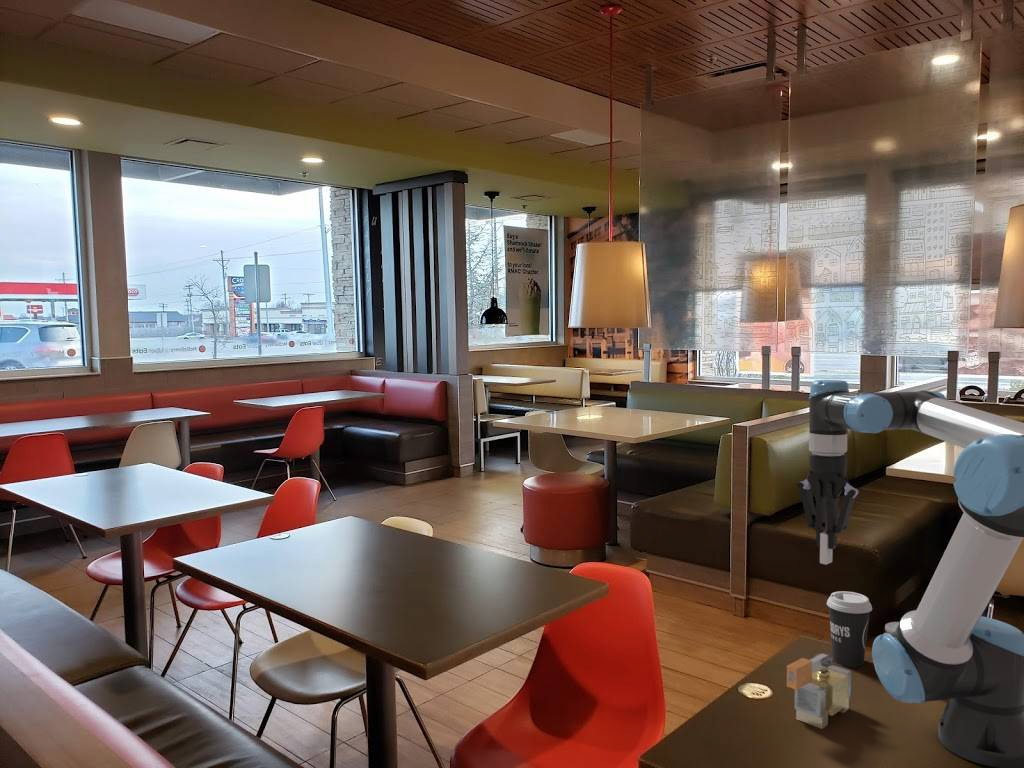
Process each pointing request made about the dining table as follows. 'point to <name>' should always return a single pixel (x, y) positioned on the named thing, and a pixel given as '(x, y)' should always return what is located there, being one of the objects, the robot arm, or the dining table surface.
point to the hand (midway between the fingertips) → (826, 562)
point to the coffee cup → (849, 627)
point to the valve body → (823, 696)
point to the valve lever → (806, 670)
